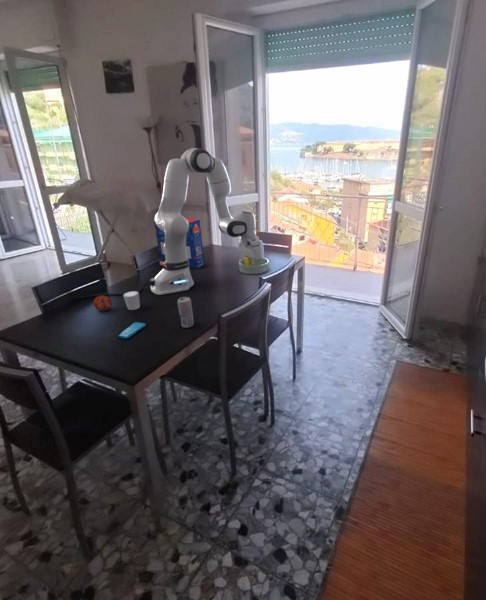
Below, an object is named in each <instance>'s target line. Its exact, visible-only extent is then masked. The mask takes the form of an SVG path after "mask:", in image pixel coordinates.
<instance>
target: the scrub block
mask: <svg viewBox="0 0 486 600" xmlns="http://www.w3.org/2000/svg"><path fill="white" fill-rule="evenodd" d="M243 257H244V258H243V259H244V260H245V266H255V261H254V264H253V265H252V264H250V261H251V257H249V256H244V255H243Z"/></svg>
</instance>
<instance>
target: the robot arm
mask: <svg viewBox="0 0 486 600" xmlns="http://www.w3.org/2000/svg"><path fill="white" fill-rule="evenodd" d="M192 173H200V174H204V176H205V178H206V181H207V184H208V186H209V190H210V192H211V194H212V198H213V200H214V204H215V209H216V211H217V217H218V222H217V225H218V229H219V231H220V233H223V234H226V235H227V236H229V237H231V238H238V237H239V238H238V239H239V240H238V244H237V249H238V252H239V253H240V254H243V257H244V256H249V257H251V261H250V264H252V265H253V264H254V261H255V260H257V259H260V258H261V247H260V245H261V241H262V240H261V239H258V238H257V237H256V232H255V231H256V228H257V227H256V226H257V225H256V223H257V222H256V223H255V221H256V217H255V214H254V212H251V211H249V210H241V211H240V212H239V213H238V214H237V215H235V216H234V217H233V216H232V214H231V213H230V210H229V207H228V202H227V198H228V196H229V195H230V194H231V191H232V186H231V185H232V184H231V180H230V176H229V174H228V171H227V168H226V165H225V164H224V162H223V160H222V159H221V158H219V157H213V156H212V155H211V154H210V153H209V152H208V150H206V149H204V148H198V147H191V148H190V147H189V148H186V149H185V150H183V151H182V152H181V153H180V156H179V157H178V158H172V159H170V160H169V161H168V163H167V166H166V169H165V175H164V181H163V189H162V196H161V201H160V204H159V207H158V210H157V212H156V214H155V215H154V219H155V223H156V225H157V226H158V228H159V229H161V230H162V231H164V232H165V244H164V252H165V258H166V261H165V262H162V261H161V260H160V261H159V265H160V266H161V267H162V269H161V270H160V271H159V272H158V273H157V274H156V275H155V276H154V277H151V278H150V281H149V282H146V283H145V284H143V286H142V288H141V289H139V290H136V291H137V292H138V293H141V292H142V291H143V290H144V289H145V288H146V287H147V286H148V285H150V284H151V285H150V291H151V293H153V294H154V295H157V296H162V295H163V296H164V295H169V294H174V293H175V294H176V293H179V292H185V291H189V290H190V288H191V287H193V286H194V285H195V282H194V280H193V277H192V274H191V270H190V269H191V268H190V267H189V266H190V265H189V260H188V258H187V251H186V235H187V232H188V229H189V223H188V221H187V220H186V219H185V216H184V215H182V214H181V211H182V209H183V206H184V204H185V203H186V202H187V196H188V195H187V194H188V187H189V186H188V185H189V178H190V176H191V174H192ZM260 240H261V241H260ZM125 293H126V292H124V293H96V294H90V295H91V296H89V295H85V296H86V297H84V296H81V297H82V298H79V300H80V299H88V298H94V297H98V296H101V295H103V296H123V295H124V294H125Z"/></svg>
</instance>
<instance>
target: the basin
mask: <svg viewBox="0 0 486 600" xmlns="http://www.w3.org/2000/svg"><path fill="white" fill-rule="evenodd" d="M269 270H270V260H269V259H268V258H266V257H264V258H263V257H261V258H260V259H257V260H255V266H245V260H244V258H241V259H239V261H238V271H239V272H240V273H242V274H245V275H259V274H261V275H262V274H264V273H266V272H267V271H269Z"/></svg>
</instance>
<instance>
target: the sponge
mask: <svg viewBox="0 0 486 600" xmlns="http://www.w3.org/2000/svg"><path fill="white" fill-rule="evenodd" d="M145 327H146V323H144V322H137V321H136V322H133V323H132V324H130V326H128V327H127V328H125V329H124V330H123V331H122V332H120V334H119V335H118V338H119V339H126V340H127V339H129V338H131V337H132V336H134V335H135V334H136V333H137V332H139V331H140V330H142V329H144V328H145Z"/></svg>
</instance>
